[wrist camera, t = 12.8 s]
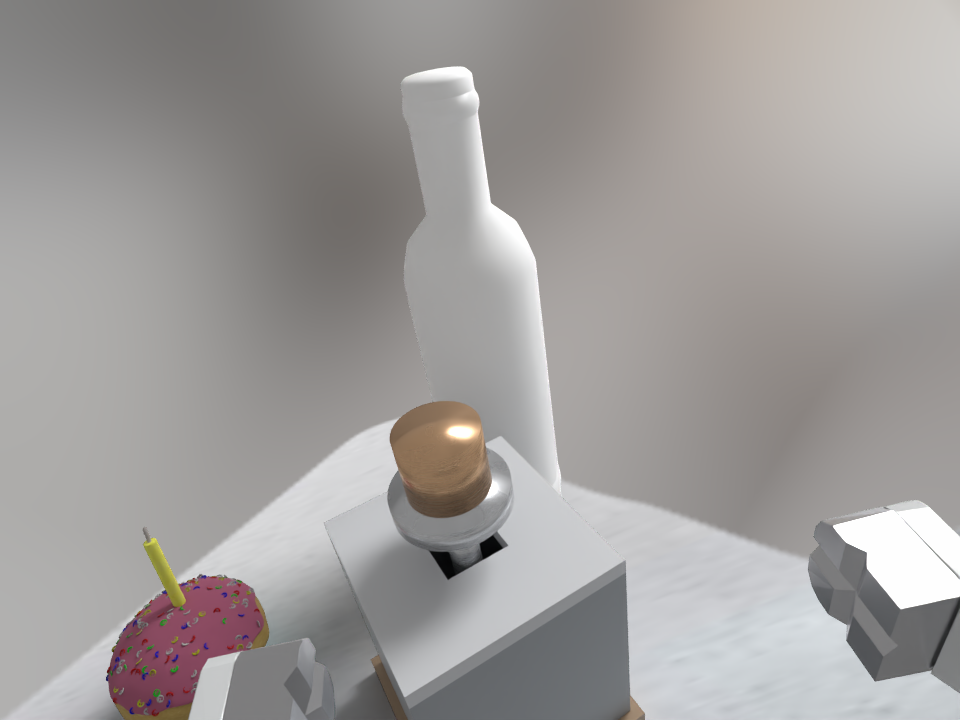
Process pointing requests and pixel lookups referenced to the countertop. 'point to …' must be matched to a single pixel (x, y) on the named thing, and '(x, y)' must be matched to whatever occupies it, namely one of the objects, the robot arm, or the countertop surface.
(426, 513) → the plunger
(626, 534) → the countertop surface
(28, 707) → the countertop surface
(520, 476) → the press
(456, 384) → the bottle
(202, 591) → the cupcake
